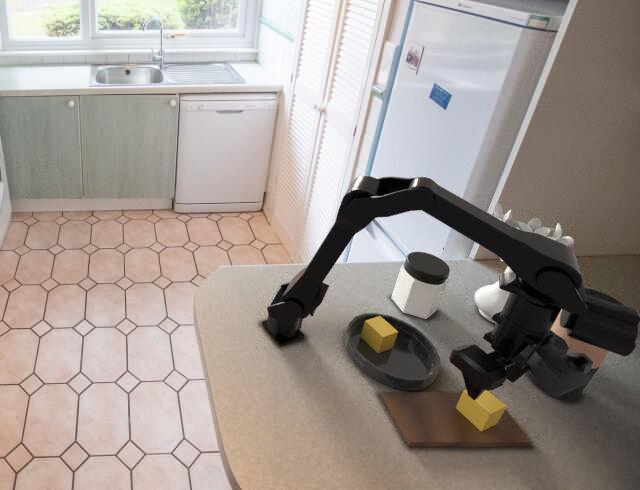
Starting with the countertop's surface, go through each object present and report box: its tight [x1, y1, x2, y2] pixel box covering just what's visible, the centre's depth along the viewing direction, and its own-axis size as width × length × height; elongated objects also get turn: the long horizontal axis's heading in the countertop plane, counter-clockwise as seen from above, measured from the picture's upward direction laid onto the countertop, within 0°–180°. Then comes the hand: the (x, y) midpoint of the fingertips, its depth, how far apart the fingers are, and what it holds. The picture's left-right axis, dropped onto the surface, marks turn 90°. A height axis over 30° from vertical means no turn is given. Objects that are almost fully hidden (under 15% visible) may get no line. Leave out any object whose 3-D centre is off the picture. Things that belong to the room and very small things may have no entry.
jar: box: [391, 251, 451, 320], centre depth 101 cm, size 9×8×12 cm
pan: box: [343, 312, 441, 391], centre depth 90 cm, size 16×16×3 cm
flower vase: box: [473, 202, 579, 325], centre depth 96 cm, size 13×18×25 cm
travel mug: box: [528, 287, 626, 401], centre depth 81 cm, size 8×8×20 cm
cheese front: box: [456, 389, 507, 431], centre depth 77 cm, size 4×4×4 cm
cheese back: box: [360, 316, 398, 353], centre depth 92 cm, size 4×4×4 cm
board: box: [380, 391, 532, 448], centre depth 78 cm, size 20×9×1 cm, turn 90°
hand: (491, 388), depth 75 cm, fingers open, 9 cm apart
